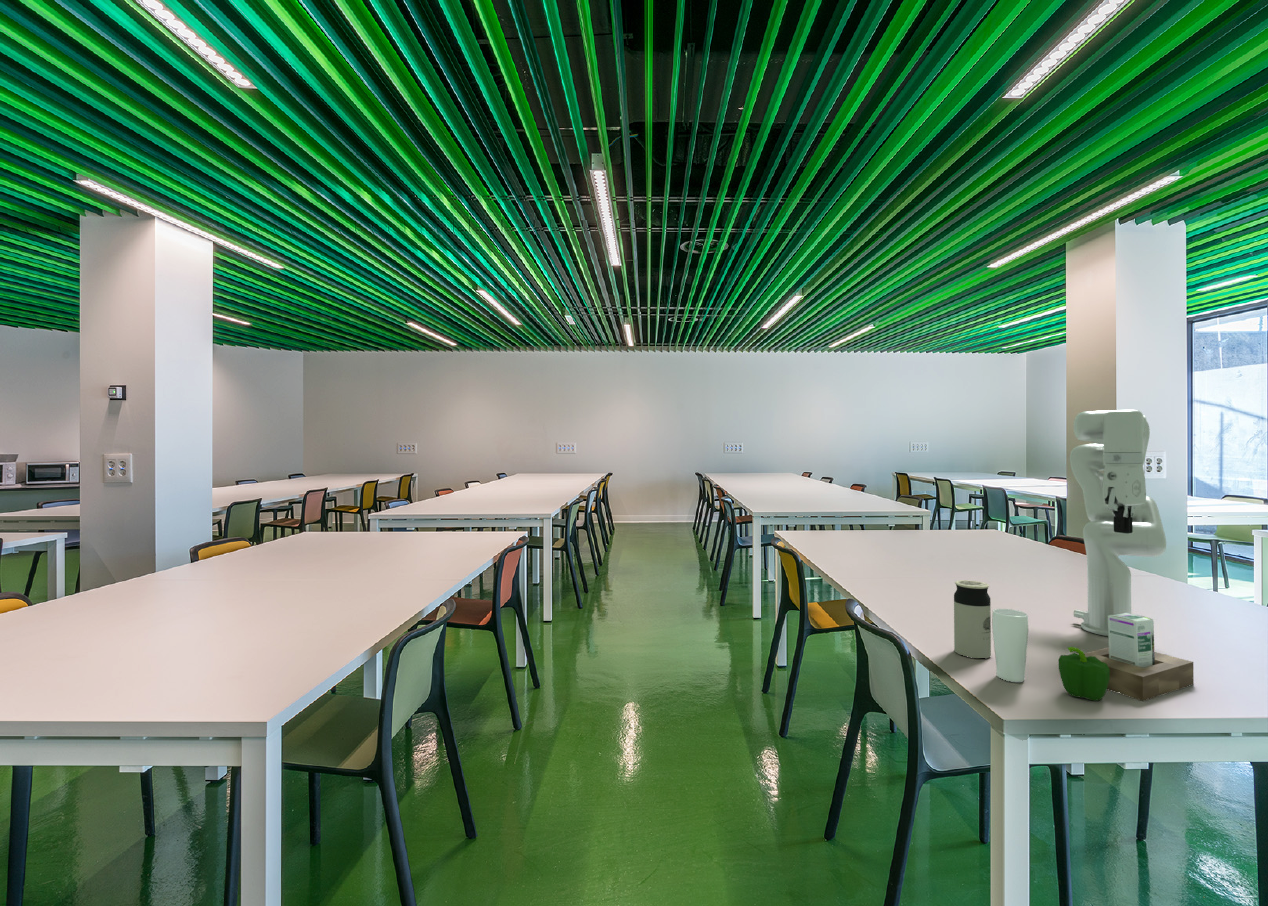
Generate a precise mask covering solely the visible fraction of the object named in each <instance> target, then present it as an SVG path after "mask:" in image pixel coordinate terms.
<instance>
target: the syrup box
mask: <svg viewBox="0 0 1268 906" xmlns="http://www.w3.org/2000/svg"><path fill="white" fill-rule="evenodd" d="M1154 624H1155V623H1154V619H1153V618H1152V617H1151V618H1150V617H1147V616H1143V615H1139V614H1134V613H1131V614H1129V613H1124V614H1117V615H1109V616H1108V636H1107V638H1108V647H1109V658H1110V659H1114V660H1118V661H1121V662H1125V663H1128V664H1132V665H1135V666H1139V667H1142V668H1146V667H1149V666H1153V665H1155V653H1154V652H1155V634H1154V633H1155V632H1154V631H1155V630H1154V628H1155V625H1154Z"/></svg>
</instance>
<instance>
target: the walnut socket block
mask: <svg viewBox="0 0 1268 906" xmlns="http://www.w3.org/2000/svg"><path fill="white" fill-rule="evenodd" d="M1154 653H1155V665H1153V666H1149V667H1146V668H1142V667H1139V666H1135V665H1132V664H1128V663H1125V662H1121V661H1118V660H1114V659H1110V658H1109V646H1107V647H1103V648H1099V649H1096V650H1091V651H1087V652H1084V655H1085V657H1089V656H1095V657H1096V658H1097V659H1099V660H1100V661H1101V662H1104V663H1106V664H1107V665H1108V667H1109V669H1110V679H1109V683H1108V687H1107V689H1109V690H1108V691H1110V690H1112V691H1111V692H1113V691H1115V692H1114V693H1116V692H1120V693H1121V694H1120V693H1119V694H1120V695H1123V694H1124V695H1123V696H1126V697H1129V696H1130V697H1129V698H1132V699H1134V700H1138V701H1142V702H1144V701H1147V700H1150V699H1153V698H1157V697H1160V696H1162V695H1166V694H1169V692H1170V693H1172V692H1174V691H1179V690H1181V689H1184V688H1185V689H1186V688H1187V686H1188V687H1190V686H1189V685H1191V686H1194V684H1195V683H1194V681H1195V680H1194V678H1195V677H1194V661H1191V660H1188V659H1184V658H1179V657H1176V656H1172V655H1169V654H1168V655H1167V654H1163V653H1160V652H1157V651H1154Z"/></svg>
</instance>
